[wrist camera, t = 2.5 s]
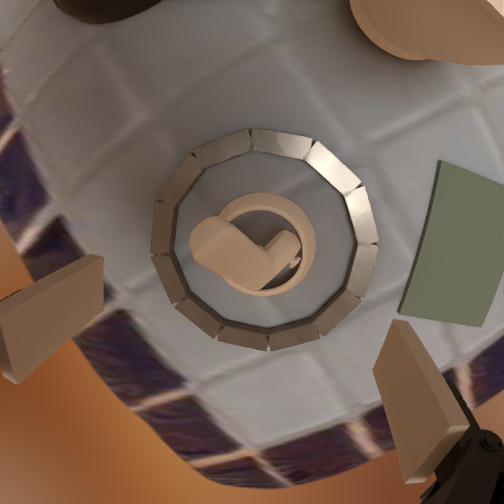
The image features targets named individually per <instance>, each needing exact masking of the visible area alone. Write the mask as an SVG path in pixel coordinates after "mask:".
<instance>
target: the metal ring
mask: <svg viewBox="0 0 504 504" xmlns="http://www.w3.org/2000/svg"><path fill="white" fill-rule="evenodd" d="M311 142H312V138H308V137H303V136H298V135H293V134H288V133H283V132H277V131H271V130H266V129H260V128H253V129H252V135H251V133H250V130H249V129H248V128H246V129H243V130H240V131H238V132H235V133H233V134H230V135H227V136H225V137H222V138H220V139H217V140H215V141H212V142H210V143H207V144H205V145H203V146H200V147H198V148H195V149H193V150H194V153H195V154H194V153H188V155H187V156H186V157H185V159H184V160H183V161H182V163H181V164H180V165H179V167H178V168H177V169H176V171H175V172H174V173H173V175H172V176H171V177H170V179H169V180H168V182H167V183H166V184H165V186H164V187H163V189H162V190H161V191H160V193H159V194H158V196H157V197H158V198H159V199H160V200H158V201H155V206H154V216H153V226H152V238H151V250H150V253H153V254H155V255H154V256H153V257H151V259H152V261H153V263H154V266H155V268H156V270H157V272H158V275H159V277H160V279H161V282H162V284H163V286H164V288H165V290H166V293H167V295H168V297H169V299H170V301H171V304H172V303H176V302H178V304H177V305H176V306H175V308H176V309H177V310H178V311H179V312H181V313H182V314H183V315H184V316H185V317H187V318H188V319H189V320H190V321H192V322H193V323H194V324H195V325H197V326H198V327H199V328H200V329H202V330H203V331H204V332H205V333H207V334H208V335H209V336H211V337H212V338H213V339H214V338H215V337H216V336H217V335H218V333H219V335H218V341H221V342H225V343H230V344H234V345H239V346H243V347H248V348H252V349H257V350H262V351H267V347H268V345H269V347H270V350H271V351H274V350H279V349H283V348H287V347H291V346H294V345H298V344H302V343H306V342H310V341H313V340H317V339H320V337H319V333H320V334H322V335H323V336H325V335H326V334H327V333H328V332H329V331H331V330H332V329H333V328H334V327H335V326H336V325H337V324H338V323H339V322H340V321H341V320H343V319H344V318H345V317H346V316H347V315H348V314H349V313H350V312H351V311H352V310H353V309H354V308H355V307H356V306H357V305H358V304H359V303H360V302H361V300H360V297H364V296H365V293H366V290H367V286H368V283H369V280H370V277H371V273H372V270H373V267H374V263H375V260H376V256H377V253H378V249H379V245H378V244H377V243H375V242H378V241H379V237H378V233H377V230H376V226H375V222H374V218H373V214H372V211H371V207H370V204H369V200H368V197H367V193H366V190H365V186H362V185H360V186H358V185H359V184H360V183H361V180H360V179H358V178H357V177H356V176H355V175H354V174H353V173H352V172H351V171H350V170H349V169H348V168H347V167H346V166H345V165H344V164H343V163H341V162H340V161H339V160H338V159H337V158H336V157H335V156H334V155H333V154H332V153H330V152H329V151H328V150H327V149H326V148H325V147H324V146H323V145H321V144H320V143H319V142H318V141H317V142H316V143H315V144H314V145H313V146H312V147H311ZM251 151H260V152H265V153H271V154H276V155H282V156H287V157H292V158H297V159H302V160H305V161H306V162H307V163H308V164H309V165H311V166H312V167H313V168H314V169H315V170H316V171H317V172H318V173H320V174H321V175H322V176H323V177H324V178H325V179H326V180H327V181H328V182H330V183H331V184H332V185H333V186H334V187H335V188H336V189H337V190H338V191H339V192H340V193H341V194H342V195H343V198H344V202H345V205H346V208H347V212H348V215H349V218H350V222H351V225H352V229H353V232H354V236H355V240H356V242H355V246H354V250H353V254H352V258H351V261H350V265H349V269H348V272H347V276H346V279H345V283H344V286H343V287H342V288H341V289H340V290H339V291H338V292H337V293H336V294H335V295H334V296H333V297H332V298H331V299H330V300H329V301H328V302H327V303H326V304H325V305H323V306H322V307H321V308H320V309H319V310H318V311H317V312H316V313H315V314H314V315H313V316H312V317H310V318H306V319H303V320H299V321H295V322H292V323H288V324H284V325H281V326H277V327H273V328H269V329H268V328H263V327H258V326H253V325H248V324H244V323H239V322H235V321H230V320H226V319H224V318H223V317H222V316H220V315H219V314H218V313H217V312H215V311H214V310H213V309H212V308H210V307H209V306H208V305H207V304H206V303H204V302H203V301H202V300H201V299H199V298H198V297H197V296H196V295H195V294H193V293H192V292H191V290H190V288H189V286H188V284H187V281H186V279H185V277H184V274H183V272H182V270H181V267H180V265H179V262H178V260H177V258H176V255H175V253H174V241H175V232H176V223H177V215H178V207H179V204H180V203H181V202H182V200H183V199H184V198H185V196H186V195H187V194H188V192H189V191H190V190H191V189H192V187H193V186H194V185H195V183H196V182H197V181H198V179H199V178H200V177H201V176H202V174H203V173H204V172H205V171H206V169H207V168H209V167H212V166H214V165H217V164H219V163H222V162H224V161H227V160H230V159H232V158H235V157H238V156H240V155H243V154H246V153H248V152H251Z"/></svg>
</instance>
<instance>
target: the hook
mask: <svg viewBox="0 0 504 504" xmlns="http://www.w3.org/2000/svg"><path fill="white" fill-rule="evenodd" d="M254 210H266V211H270V212H274V213H277V214H278V215H280V216H282V217H284V218H285V219H286V220H288V221H289V222H290V223H291V224H292V225H293V227H294V228H295V229H296V231H297V233H298V234H299V237H300V240H301V243H302V260H301V263H300V266H299V268H298V270H297V272H296V273H295V275H294V276H293V277H292V278H291V279H290V280H288V281H287V282H286V283H284V284H282V285H280V286H278V287H274V288H271V289H261V288H262V287H264V286H265V285H266V284H267V283H268V282H269V281H270V280H271V279H273V278H274V277H275V276H276V275H277V274H278V273H279V272H280V271H281V270H282V269H283V268H284V267H285V266H286V265H287V264H288V263H289V262H290V264H289V267H290V268H293V267H295V266H296V265H297V264H298V263H299V261H300V259H301V258H300V257H295V256H296V254H297V253H298V251H299V250H300V248H301V244H300V242H299V240H298V239H297V237H296V235H294V234H293V233H291V232H289V231H287V230H282V231H281V232H279V233H278V234H277V235H276V236H275V237H274V238H273V239H272V240H271V241H270V242H269V243H268V244H267V245H266V246H265V247H262V246H260V245H256V244H254V243H253V242H252V241H251V240H250V239H249V238H248V237H247V236H246V235H244V234H243V233H242V232H241V231H240V230H239V229H237V228H236V227H235V226H234V225H233V224H231V223H230V222H231V221H232V220H233V219H234V218H235V217H237V216H239V215H241V214H243V213H246V212H249V211H254ZM190 249H191V253H192V256H193V258H194V260H195V261H196V262H197V263H199V264H200V265H202V266H204V267H205V268H207V269H209V270H211V271H213V272H215V273H217V274H219V275H221V276H222V277H223V278H224V280H225V281H226V282H227V283H228V284H230V285H231V286H232V287H234V288H235V289H237V290H239V291H241V292H243V293H246V294H249V295H253V296H262V297H263V296H273V295H277V294H281V293H283V292H285V291H288V290H290V289H291V288H293V287H294V286H295V285H297V284H298V283H299V282H300V281H301V280H302V279H303V278H304V277H305V276H306V275H307V273H308V271H309V270H310V268H311V266H312V264H313V261H314V258H315V252H316V238H315V233H314V230H313V226H312V224H311V222H310V220H309V219H308V217H307V215H306V214H305V213H304V212H303V211H302V209H301V208H300V207H299V206H297V205H296V204H295V203H294V202H292V201H291V200H289V199H287V198H285V197H283V196H280V195H276V194H273V193H264V192H258V193H250V194H247V195H244V196H241V197H239V198H237V199H235V200H233V201H232V202H230V203H229V204H228V205H227V206H226V207H224V208H223V209H222V211H221V212H220V213H219V215H218V216H212V217H208V218H206V219H204V220H203V221H202V222H200V223H199V224H198V225H197V226H196V227H195V228H194V230H193V231H192V233H191V235H190Z"/></svg>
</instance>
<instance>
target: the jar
mask: <svg viewBox="0 0 504 504" xmlns="http://www.w3.org/2000/svg"><path fill="white" fill-rule="evenodd" d="M350 6H351V10H352V13H353V16H354V18H355V20H356V22H357V23H358V25H359V27H360V28H361V29H362V31H363V32H364V33H365V34H366V36H367V37H368V38H369V39H370V40H371V41H372V42H374V43H375V44H376V45H377V46H379V47H380V48H381V49H383V50H385V51H386V52H388V53H390V54H392V55H394V56H397V57H399V58H403V59H407V60H426V59H431V60H436V61H445V62H453V63H459V64H467V65H501V64H504V0H350Z"/></svg>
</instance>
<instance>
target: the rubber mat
mask: <svg viewBox="0 0 504 504" xmlns="http://www.w3.org/2000/svg"><path fill="white" fill-rule="evenodd" d="M503 271H504V186H503V185H501V184H498V183H496V182H494V181H492V180H489V179H487V178H485V177H482V176H480V175H477V174H475V173H472V172H470V171H467V170H465V169H462V168H460V167H457V166H455V165H452V164H449V163H446V162H444V161H439V163H438V168H437V173H436V178H435V183H434V188H433V193H432V197H431V202H430V206H429V210H428V214H427V218H426V222H425V226H424V230H423V233H422V237H421V241H420V244H419V248H418V251H417V255H416V258H415V261H414V264H413V268H412V271H411V274H410V277H409V280H408V283H407V286H406V289H405V292H404V295H403V298H402V300H401V303H400V306H399V309H398V311H397V312H398V313H399V314H400V315H406V316H412V317H418V318H424V319H430V320H436V321H443V322H449V323H456V324H462V325H469V326H476V327H482V325H483V323H484V320H485V318H486V316H487V313H488V311H489V309H490V306H491V304H492V301H493V298H494V296H495V293H496V291H497V288H498V285H499V282H500V280H501V277H502V274H503Z"/></svg>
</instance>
